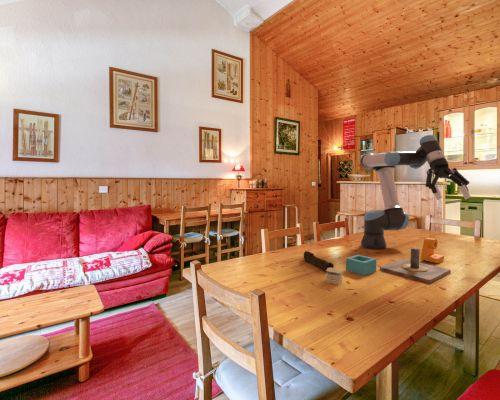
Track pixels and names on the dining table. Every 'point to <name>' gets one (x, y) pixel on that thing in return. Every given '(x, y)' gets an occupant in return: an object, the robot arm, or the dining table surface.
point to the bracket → (430, 251)
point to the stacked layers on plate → (334, 276)
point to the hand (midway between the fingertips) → (453, 198)
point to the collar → (361, 264)
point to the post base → (416, 275)
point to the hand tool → (317, 261)
